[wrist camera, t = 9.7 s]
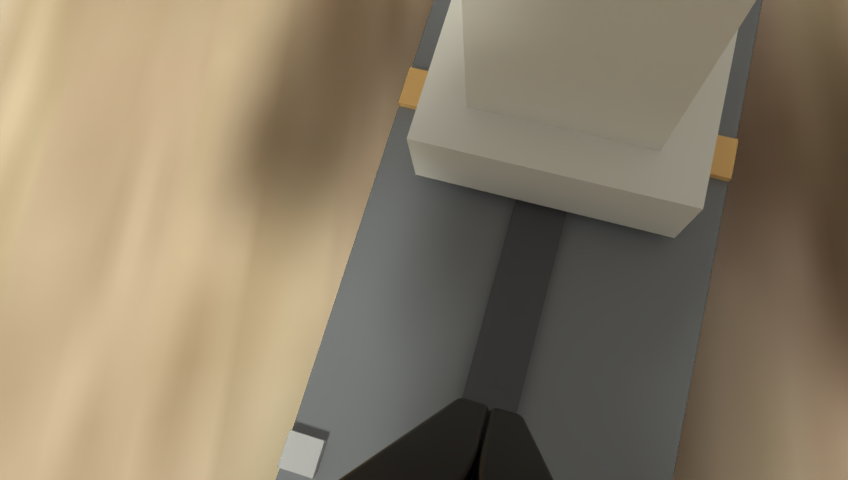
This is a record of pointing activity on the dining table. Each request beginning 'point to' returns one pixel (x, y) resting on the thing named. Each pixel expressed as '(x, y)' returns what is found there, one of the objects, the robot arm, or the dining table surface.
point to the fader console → (513, 314)
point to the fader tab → (580, 104)
